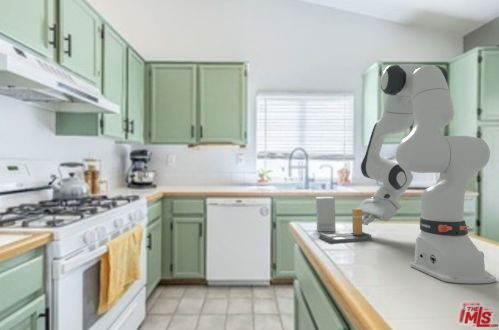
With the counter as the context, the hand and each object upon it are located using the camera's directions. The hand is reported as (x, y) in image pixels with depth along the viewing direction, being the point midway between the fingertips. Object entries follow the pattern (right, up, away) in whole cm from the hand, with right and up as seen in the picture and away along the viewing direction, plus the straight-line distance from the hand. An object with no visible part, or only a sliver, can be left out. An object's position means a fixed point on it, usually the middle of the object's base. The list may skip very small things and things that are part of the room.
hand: (363, 223), depth 146 cm
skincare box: (-12, -6, +17) cm, 22 cm away
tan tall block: (-3, -4, -1) cm, 5 cm away
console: (-8, -6, -2) cm, 10 cm away
